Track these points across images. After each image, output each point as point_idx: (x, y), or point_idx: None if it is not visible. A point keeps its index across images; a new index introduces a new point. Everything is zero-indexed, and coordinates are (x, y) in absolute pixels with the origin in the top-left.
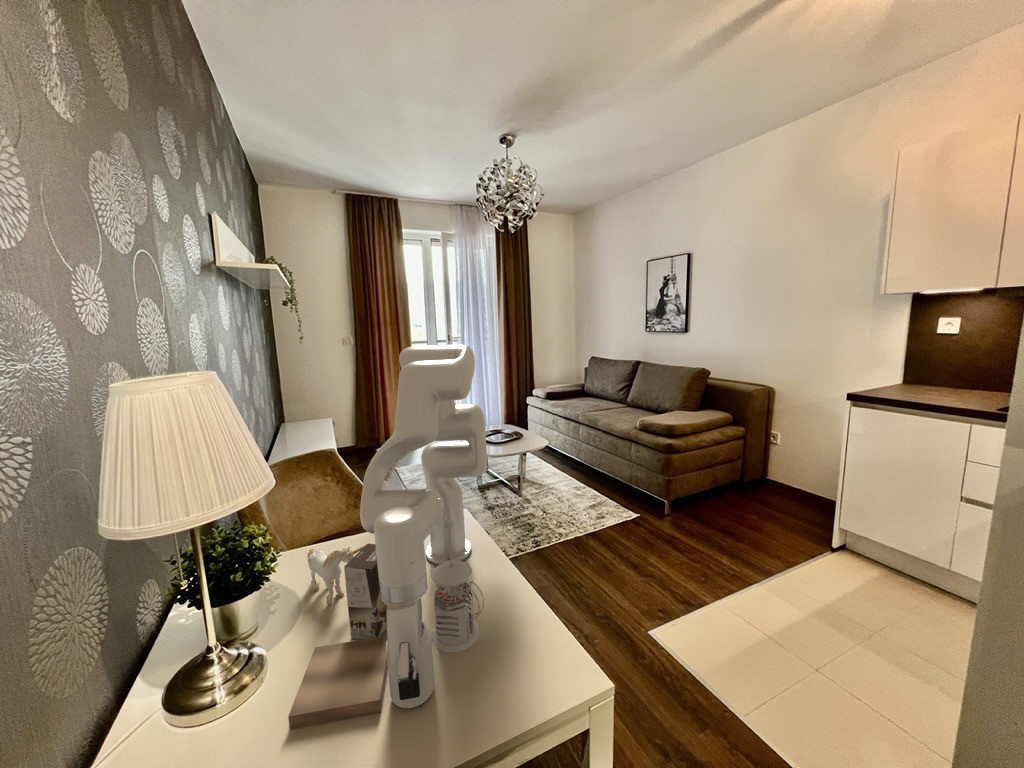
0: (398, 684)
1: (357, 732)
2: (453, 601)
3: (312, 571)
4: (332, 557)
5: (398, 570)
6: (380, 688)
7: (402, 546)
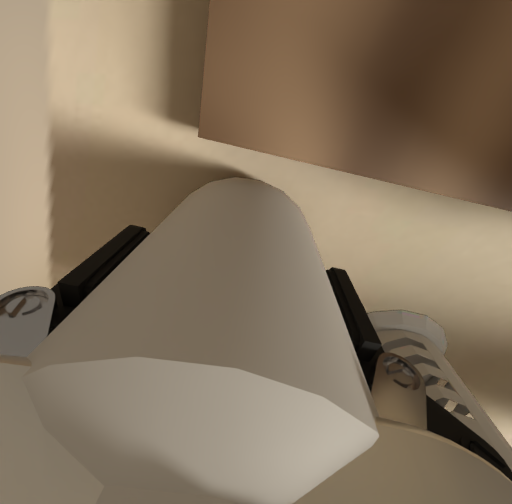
0: (85, 262)
1: (156, 27)
2: None
3: None
4: None
5: None
6: (253, 145)
7: None
